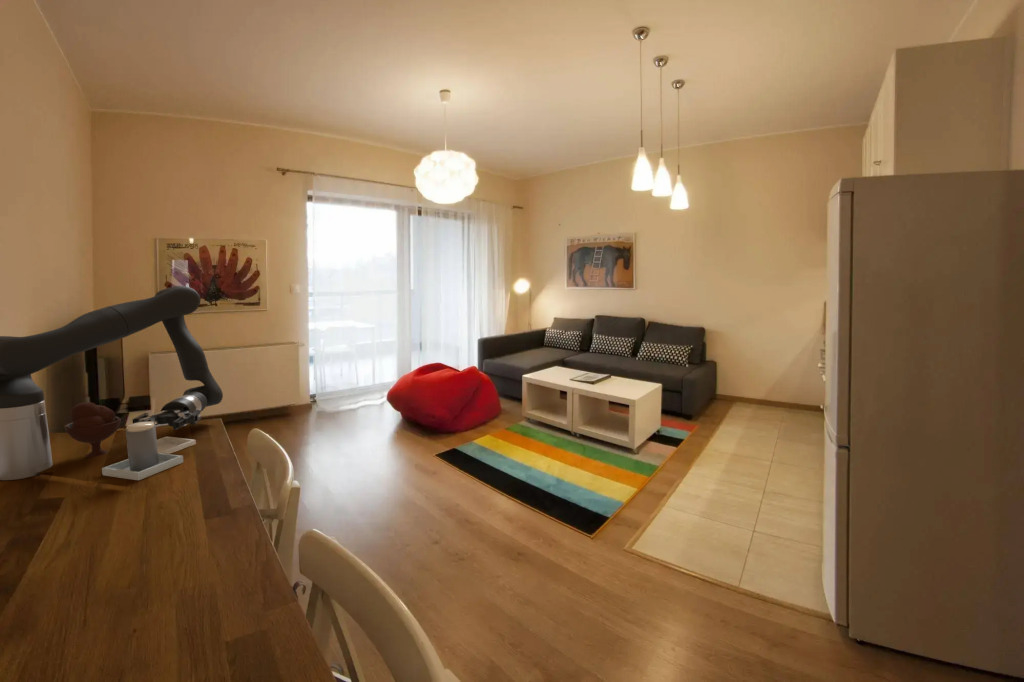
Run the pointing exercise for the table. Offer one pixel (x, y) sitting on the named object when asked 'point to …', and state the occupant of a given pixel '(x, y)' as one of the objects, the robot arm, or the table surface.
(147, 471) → the glazed dish
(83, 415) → the ice cream bowl
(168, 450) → the tray
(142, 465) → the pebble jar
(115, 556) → the table surface
